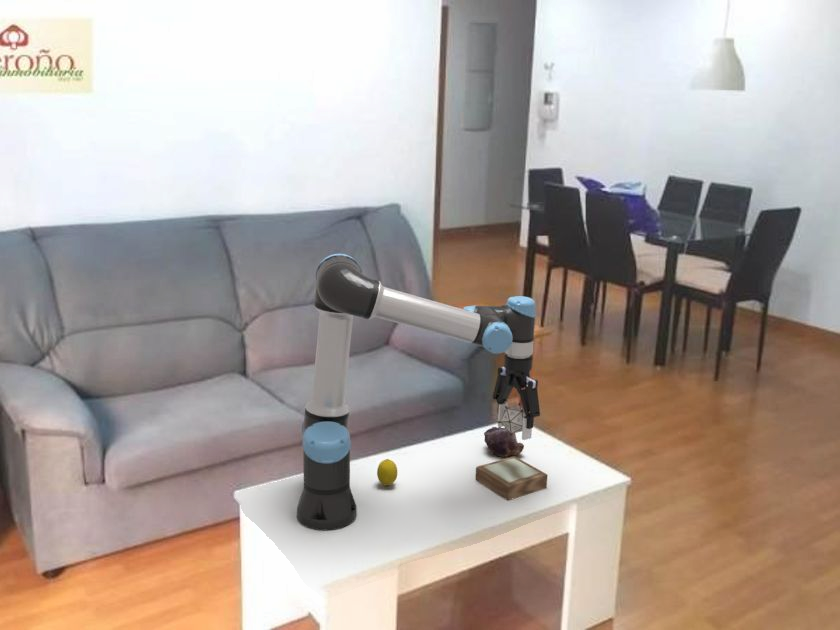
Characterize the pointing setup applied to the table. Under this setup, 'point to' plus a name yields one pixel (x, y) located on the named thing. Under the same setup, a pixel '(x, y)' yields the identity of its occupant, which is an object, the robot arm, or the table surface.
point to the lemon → (387, 472)
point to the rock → (502, 442)
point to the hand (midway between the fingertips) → (514, 432)
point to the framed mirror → (511, 477)
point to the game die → (513, 419)
